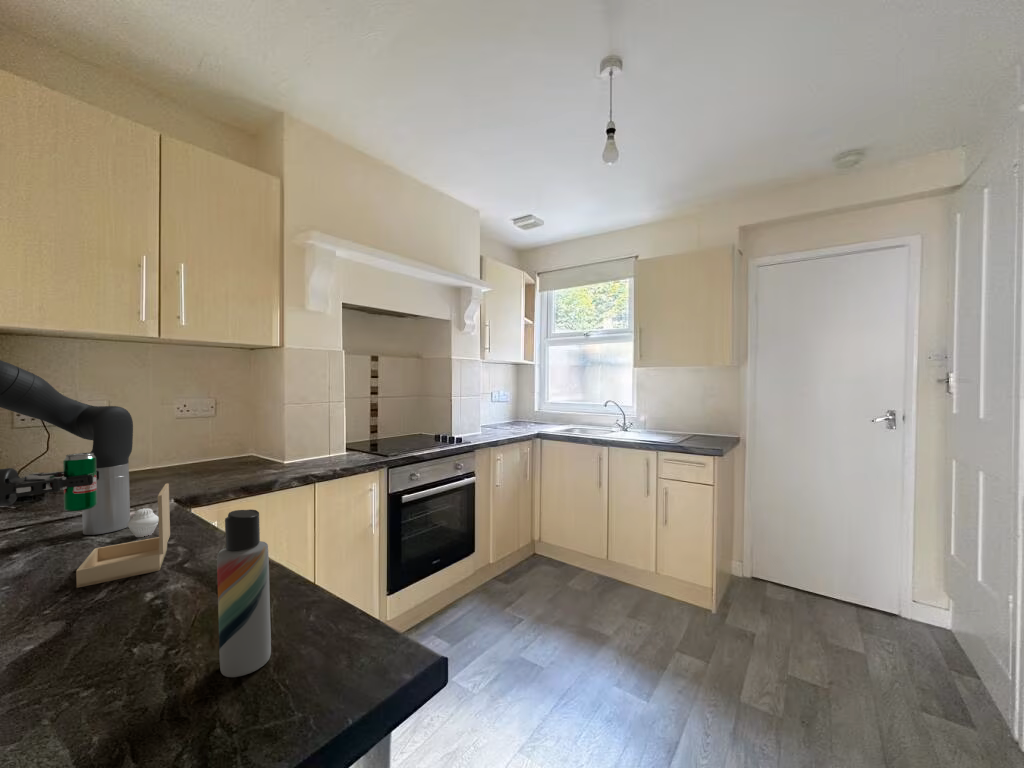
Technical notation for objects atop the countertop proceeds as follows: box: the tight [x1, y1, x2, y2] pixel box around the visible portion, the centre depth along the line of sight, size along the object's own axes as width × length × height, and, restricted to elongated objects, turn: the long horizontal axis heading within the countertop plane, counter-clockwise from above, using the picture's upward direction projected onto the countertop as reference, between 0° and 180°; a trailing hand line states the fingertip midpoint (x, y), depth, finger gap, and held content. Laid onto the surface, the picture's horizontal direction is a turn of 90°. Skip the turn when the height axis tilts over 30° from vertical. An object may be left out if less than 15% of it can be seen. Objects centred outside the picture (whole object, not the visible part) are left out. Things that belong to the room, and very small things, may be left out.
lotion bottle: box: [216, 509, 272, 678], centre depth 55 cm, size 6×6×20 cm
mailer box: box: [75, 483, 171, 589], centre depth 88 cm, size 14×13×15 cm
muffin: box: [127, 507, 159, 538], centre depth 107 cm, size 6×6×7 cm
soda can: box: [62, 452, 97, 513], centre depth 92 cm, size 5×5×12 cm
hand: (95, 477), depth 93 cm, fingers closed on soda can, 5 cm apart
